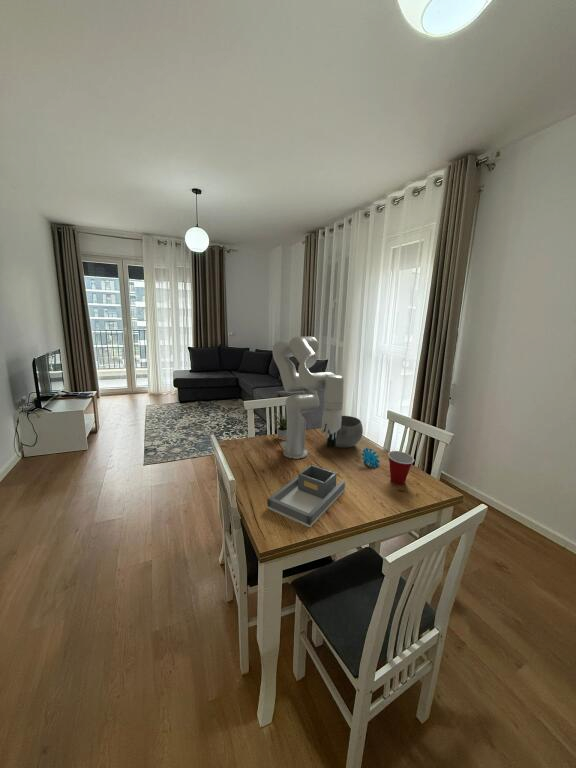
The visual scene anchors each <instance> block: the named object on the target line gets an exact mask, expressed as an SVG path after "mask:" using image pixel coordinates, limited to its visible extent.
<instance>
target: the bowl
mask: <svg viewBox="0 0 576 768" xmlns="http://www.w3.org/2000/svg"><path fill="white" fill-rule="evenodd" d="M363 430H364V429H363V424H362V421H361V420H360V419H359V418H358V417H355V416H351V415H342V420H341V428H340V429H339V430H338V432H337V436H336V447H337V448H343V449H344V448H351V447H354V446H355V445H357V444H359V442H360V440H361V439H362V437H363V433H364V431H363Z"/></svg>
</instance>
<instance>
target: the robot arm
mask: <svg viewBox="0 0 576 768" xmlns="http://www.w3.org/2000/svg"><path fill="white" fill-rule="evenodd" d="M319 345H320V344H319V342H318V340H317V339H316V337H314V336H294V337H292V338H291V339H283V340H278V341H276V342H275V343H273V345H272V356H273V361H274V362H275V364H276V367H277V368H278V371H279V374H280V378H281V382H282V386H283V389H284V391H285V392H286V393H288V394H291V395H289V396H288V397H286V399H285V409H286V411H285V413H286V415H287V419H286V420H287V440H286V441H281V445H280V447H281V448H283V451H282V452H283V456H285V457H286V458H288V459H292V458H293V460H299V459H300V458H301V459H303V458H306V457H307V456H308V454H309V453H308V450H307V449H306V424H307V423H306V418H305V417H304V416H303V414H304V413H308V412H314V411H316V410H318V409H319V407H320V397H319V395H318V391H323V392H324V394H323V395H324V396H323V413H322V417H321V418H322V419H321V427H320V428H321V429H320V431H321V433H324V437H325V438H326V441H327V442H326V447H327V448H330V449H335V448H336V447H337V446H336V436H337V432H338V430H339V429H340V428H341V420H342V416H343V415H342V410H343V401H344V399H343V398H344V377H343V376H342V375H338V374H335V373H333V372H331V371H327V372H325V371H321V372H310V370H309V369H310V368H311V367H313V366H314V365H315V364H316V362H317V359H318V356H317V354H316V353H317V352H318V351H319V349H320V347H319ZM290 357H294V358H295V359H296V361H297V362H298V363H299V365H298V369H296V365H295V364H294V363H293V361H292V360H291V359H289V358H290Z"/></svg>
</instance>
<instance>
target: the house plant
mask: <svg viewBox="0 0 576 768" xmlns="http://www.w3.org/2000/svg"><path fill="white" fill-rule="evenodd" d="M271 413H273V414H274V415H276V416H272V418H274V419H275V421H274V423H273V424H275V427H277V428H276V429H277V436H278V437H279V438H282V439H286V438H287V414H286V412H284V414H283V416H282V415H281V413H280V412H278V415H279V416H278V415H277V413H274V412H271ZM285 414H286V415H285ZM279 438H278V439H279Z"/></svg>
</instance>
